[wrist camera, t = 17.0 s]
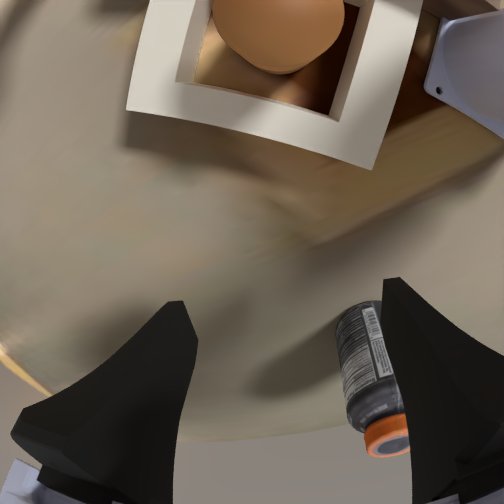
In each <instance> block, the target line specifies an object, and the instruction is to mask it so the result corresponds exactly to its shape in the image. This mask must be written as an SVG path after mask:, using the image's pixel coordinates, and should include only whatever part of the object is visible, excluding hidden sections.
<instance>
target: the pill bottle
mask: <svg viewBox="0 0 504 504" xmlns="http://www.w3.org/2000/svg"><path fill="white" fill-rule="evenodd" d="M381 306H382V301H369V302H365V303H362V304H359V305H357V306H355V307H354V308H352V309H351V310H349V311H348V312H347V313H346V314H345V315H344V316H343V317H342V318H341V320H340V321H339V323H338V325H337V328H336V340H337V347H338V354H339V360H340V367H341V375H342V383H343V391H344V397H345V403H346V410H347V418H348V421H349V423H350V424H351V426H352V427H353V428H355V429H356V430H357V431H359V432H362V433H365V435H364V440H365V443H366V450H367V453H368V454H369V455H371V456H373V457H391V456H395V455H399V454H402V453H405V452H407V451H409V450H410V444H409V436H408V428H407V422H406V416H405V410H404V405H403V401H402V397H401V394H400V391H399V387H398V384H397V381H396V378H395V375H394V372H393V369H392V366H391V363H390V360H389V357H388V354H387V351H386V348H385V344H384V340H383V335H382V330H381V326H380V317H381Z"/></svg>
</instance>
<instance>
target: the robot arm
mask: <svg viewBox="0 0 504 504" xmlns="http://www.w3.org/2000/svg"><path fill="white" fill-rule="evenodd" d="M437 87H439V88H440V93H439V94H437V92H436V88H437ZM424 89H425V91H426V92H427V93H428V94H430V95H432V96H434V97H435V98H437V99H439V100H441V101H443V102H445V103H446V104H448V105H450V106H452V107H454V108H455V109H457V110H459V111H460V112H462V113H464V114H465V115H467V116H469V117H470V118H472V119H474V120H475V121H477V122H478V123H480V124H481V125H483V126H485V127H486V128H488V129H489V130H491V131H492V132H493V133H495V134H496V135H498V136H499V137H501V138H502V139H504V8H502V9H499V11H494V12H489V13H484V14H479V15H474V16H469V17H465V18H461V19H457V20H453V21H449V20H447V19H446V18H444V17H443V18H441V21H440V25H439V29H438V33H437V38H436V42H435V45H434V49H433V53H432V57H431V61H430V64H429V68H428V71H427V75H426V78H425V82H424ZM380 326H381V330H382V335H383V340H384V344H385V348H386V351H387V354H388V357H389V360H390V363H391V366H392V369H393V372H394V375H395V378H396V381H397V384H398V387H399V391H400V394H401V397H402V401H403V405H404V410H405V416H406V422H407V428H408V436H409V444H410V453H411V467H412V495H413V496H412V504H504V356H503V355H501V354H499V353H497V352H496V351H494V350H492V349H490V348H488V347H487V346H485V345H483V344H482V343H480V342H478V341H477V340H475V339H474V338H472V337H471V336H470V335H468V334H467V333H465V332H464V331H462V330H461V329H459V328H458V327H457V326H455V325H454V324H453V323H452V322H450V321H449V320H448V319H447V318H445V317H444V316H443V315H442V314H440V313H439V312H438V311H437V310H436V309H435V308H433V307H432V306H431V305H430V304H429V303H428V302H427V301H425V300H424V299H423V298H422V297H421V296H420V295H419V294H418V293H417V292H415V291H414V290H413V289H412V288H411V287H410V286H409V285H408V284H407V283H406V282H405V281H403V280H402V279H401V278H400V277H397V278H390V279H383V293H382V306H381V317H380ZM197 347H198V338H197V335H196V333H195V330H194V328H193V325H192V323H191V320H190V318H189V315H188V313H187V310H186V308H185V305H184V302H183V301H170V302H167V303H166V304H165V305H164V306H163V307H162V308H161V309H160V310H159V311H158V312H157V313H156V314H155V315H154V316H153V317H152V318H151V319H150V320H149V321H148V322H147V323H146V324H145V325H144V326H143V327H142V328H141V329H140V330H139V331H138V332H137V333H136V334H135V335H134V336H133V337H132V338H131V339H130V340H129V341H128V342H127V343H125V344H124V345H123V346H122V347H121V348H120V349H119V350H118V351H117V352H116V353H115V354H114V355H112V356H111V357H110V358H109V359H108V360H107V361H105V362H104V363H103V364H101V365H100V366H99V367H98V368H96V369H95V370H94V371H92V372H91V373H90V374H88V375H87V376H85V377H84V378H82V379H80V380H79V381H77V382H76V383H74V384H73V385H71V386H70V387H68V388H66V389H64V390H63V391H61V392H59V393H57V394H55V395H53V396H51V397H49V398H47V399H45V400H43V401H40V402H38V403H36V404H33V405H31V406H29V407H26V408H24V409H23V410H22V412H21V414H20V416H19V417H18V419H17V421H16V423H15V425H14V427H13V429H12V431H11V433H10V434H11V437H12V439H13V440H14V441H15V442H16V443H17V444H18V445H19V446H20V447H21V448H22V449H23V450H25V451H26V452H27V453H28V454H30V455H31V456H32V457H34V458H35V459H36V460H37V461H38V462H40V463H41V464H42V465H43V466H42V468H41V470H39V469H37V468H36V467H34V466H32V465H30V464H28V463H26V462H24V461H22V460H20V459H18V458H16V459H15V461H14V463H13V465H12V467H11V469H10V471H9V474H8V476H7V479H6V481H5V483H4V486H3V488H2V491H1V493H0V504H173V472H174V458H175V449H176V440H177V433H178V427H179V421H180V416H181V412H182V408H183V405H184V401H185V398H186V394H187V391H188V387H189V384H190V380H191V376H192V373H193V369H194V366H195V361H196V354H197Z"/></svg>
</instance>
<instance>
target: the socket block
mask: <svg viewBox="0 0 504 504" xmlns="http://www.w3.org/2000/svg"><path fill="white" fill-rule="evenodd" d="M343 2H346V3H349V4H352V5H355V6H357V7H360V10H359V14H358V17H357V21H356V24H355V28H354V31H353V35H352V38H351V42H350V45H349V49H348V52H347V56H346V59H345V63H344V66H343V69H342V73H341V76H340V79H339V83H338V86H337V89H336V93H335V96H334V99H333V102H332V106H331V109H330V112H329V115H325V114H322V113H319V112H315V111H312V110H309V109H306V108H302V107H299V106H295V105H292V104H288V103H285V102H281V101H277V100H274V99H270V98H266V97H262V96H258V95H254V94H249V93H245V92H241V91H236V90H231V89H227V88H222V87H217V86H211V85H206V84H201V83H195V82H193V79H194V75H195V71H196V67H197V63H198V59H199V55H200V51H201V47H202V43H203V39H204V35H205V32H206V28H207V25H208V21H209V17H210V14H211V11H212V7H213V0H150V2H149V6H148V9H147V13H146V17H145V20H144V24H143V28H142V32H141V36H140V40H139V44H138V49H137V53H136V58H135V63H134V67H133V72H132V78H131V83H130V88H129V94H128V100H127V106H126V110H130V111H137V112H144V113H150V114H156V115H162V116H168V117H174V118H179V119H184V120H190V121H195V122H200V123H205V124H209V125H214V126H219V127H223V128H227V129H232V130H236V131H240V132H244V133H248V134H252V135H256V136H260V137H264V138H268V139H272V140H275V141H279V142H283V143H286V144H290V145H293V146H297V147H300V148H304V149H307V150H310V151H313V152H317V153H320V154H323V155H326V156H329V157H332V158H336V159H339V160H342V161H345V162H348V163H350V164H353V165H356V166H359V167H362V168H365V169H368V170H370V171H372V168H373V166H374V163H375V160H376V157H377V155H378V152H379V149H380V146H381V143H382V141H383V138H384V135H385V132H386V129H387V126H388V123H389V120H390V117H391V114H392V111H393V108H394V105H395V102H396V98H397V95H398V92H399V89H400V86H401V82H402V79H403V76H404V72H405V69H406V65H407V62H408V58H409V55H410V51H411V47H412V44H413V40H414V36H415V32H416V28H417V24H418V20H419V16H420V12H421V7H422V3H423V0H343Z"/></svg>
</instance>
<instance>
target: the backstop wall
mask: <svg viewBox="0 0 504 504" xmlns="http://www.w3.org/2000/svg"><path fill="white" fill-rule="evenodd" d="M500 1H501V0H423V3H422V7H421V9H423V10H425V11H427V12H428V13H430V14H432V15H434V16H436V17H438V18H439V19H441V18H443V17H444V18H446V19H447V20H449V21H453V20H457V19H461V18H465V17H469V16H474V15H479V14H484V13H489V12H494V11H499V9H500Z"/></svg>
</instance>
